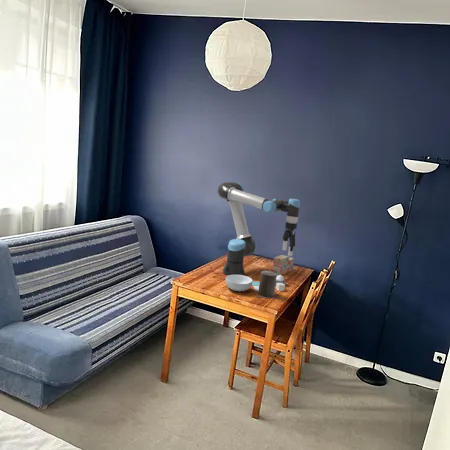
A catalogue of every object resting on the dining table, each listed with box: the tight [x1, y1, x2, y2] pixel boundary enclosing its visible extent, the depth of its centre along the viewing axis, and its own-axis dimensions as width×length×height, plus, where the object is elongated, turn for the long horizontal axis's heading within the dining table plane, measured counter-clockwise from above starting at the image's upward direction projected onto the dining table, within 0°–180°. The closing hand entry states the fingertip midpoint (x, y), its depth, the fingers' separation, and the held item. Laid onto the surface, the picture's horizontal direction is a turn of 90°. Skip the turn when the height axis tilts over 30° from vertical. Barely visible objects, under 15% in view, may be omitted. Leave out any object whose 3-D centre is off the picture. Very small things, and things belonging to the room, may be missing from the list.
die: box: [275, 283, 286, 292], centre depth 266 cm, size 4×4×4 cm
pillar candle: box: [257, 270, 278, 298], centre depth 254 cm, size 10×10×15 cm
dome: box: [276, 274, 285, 282], centre depth 277 cm, size 5×5×5 cm
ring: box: [253, 288, 280, 300], centre depth 256 cm, size 13×13×1 cm
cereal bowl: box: [225, 275, 253, 293], centre depth 258 cm, size 17×17×7 cm
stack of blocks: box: [271, 254, 295, 276], centre depth 306 cm, size 21×6×12 cm, turn 145°
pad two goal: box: [251, 280, 260, 287], centre depth 273 cm, size 9×8×1 cm
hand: (286, 252), depth 281 cm, fingers open, 13 cm apart
